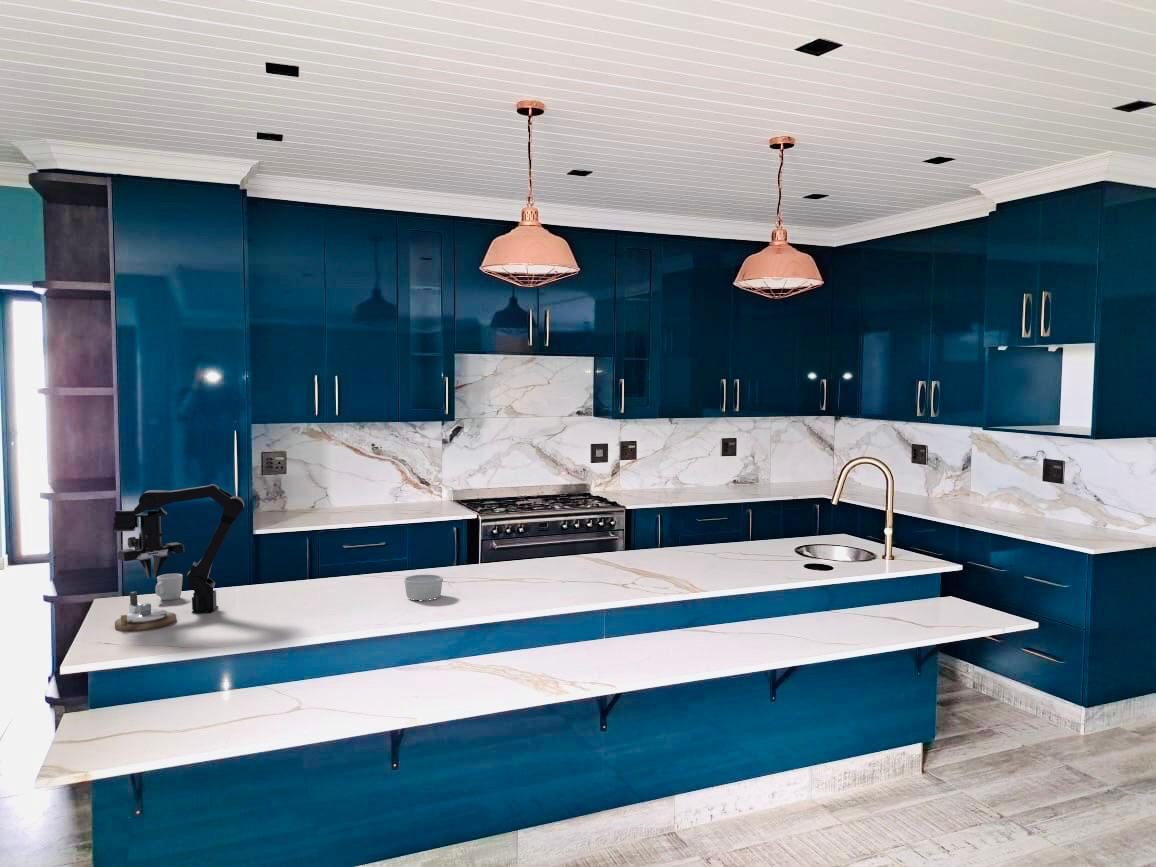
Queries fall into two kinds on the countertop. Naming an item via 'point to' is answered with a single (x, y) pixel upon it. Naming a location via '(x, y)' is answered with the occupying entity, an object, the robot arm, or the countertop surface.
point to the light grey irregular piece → (143, 611)
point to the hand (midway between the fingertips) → (152, 578)
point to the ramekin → (423, 586)
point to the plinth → (144, 624)
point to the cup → (169, 586)
